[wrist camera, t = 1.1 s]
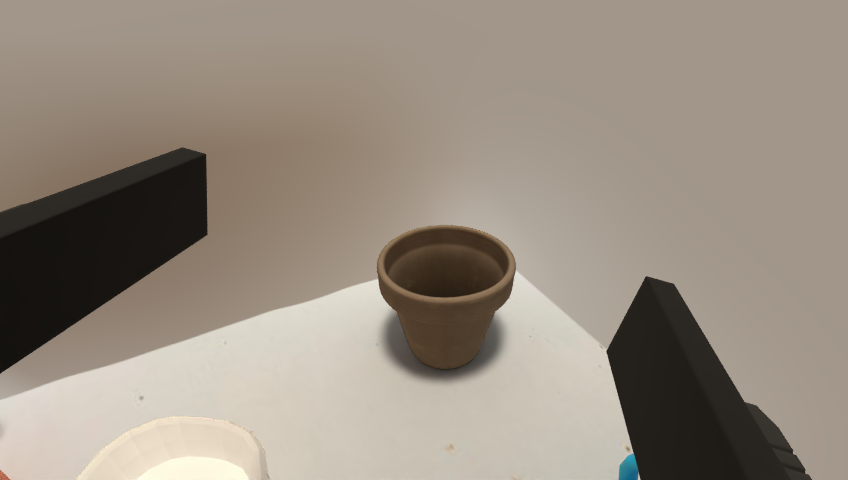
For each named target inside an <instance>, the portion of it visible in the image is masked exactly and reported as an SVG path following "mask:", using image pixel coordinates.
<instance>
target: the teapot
mask: <svg viewBox="0 0 848 480" xmlns="http://www.w3.org/2000/svg"><path fill="white" fill-rule="evenodd" d="M0 480H10V479H9V478H8V477H7V476H6V475H5V474H4V473H3V472H2V471H1V470H0Z"/></svg>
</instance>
